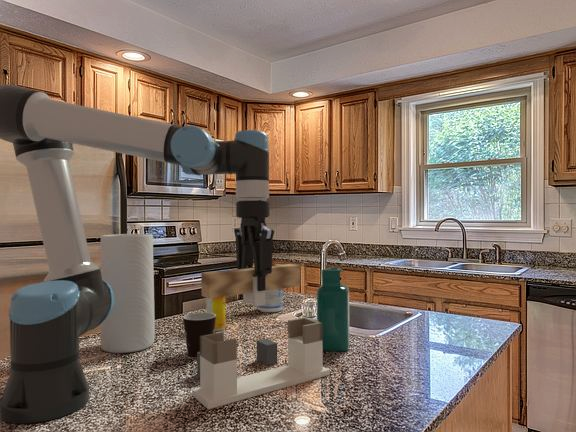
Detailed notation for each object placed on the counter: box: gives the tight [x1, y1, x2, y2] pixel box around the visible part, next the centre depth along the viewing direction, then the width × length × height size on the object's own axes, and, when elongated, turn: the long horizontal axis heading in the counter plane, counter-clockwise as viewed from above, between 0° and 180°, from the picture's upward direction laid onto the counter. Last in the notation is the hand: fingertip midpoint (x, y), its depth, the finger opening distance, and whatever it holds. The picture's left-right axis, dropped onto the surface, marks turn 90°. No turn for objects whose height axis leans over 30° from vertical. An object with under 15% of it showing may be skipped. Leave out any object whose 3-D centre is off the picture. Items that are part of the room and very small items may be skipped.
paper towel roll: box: [99, 233, 156, 354], centre depth 121 cm, size 14×14×32 cm
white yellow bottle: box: [205, 296, 227, 332], centre depth 139 cm, size 6×6×15 cm
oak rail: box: [200, 263, 302, 299], centre depth 97 cm, size 24×4×5 cm, turn 126°
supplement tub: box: [257, 288, 284, 313], centre depth 166 cm, size 10×10×15 cm
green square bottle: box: [316, 267, 351, 352], centre depth 119 cm, size 10×8×22 cm
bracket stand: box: [191, 316, 331, 410], centre depth 93 cm, size 30×8×12 cm, turn 125°
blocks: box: [196, 338, 278, 377], centre depth 103 cm, size 19×5×5 cm, turn 125°
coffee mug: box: [182, 312, 216, 359], centre depth 116 cm, size 12×9×10 cm
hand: (254, 303), depth 97 cm, fingers closed on oak rail, 4 cm apart
